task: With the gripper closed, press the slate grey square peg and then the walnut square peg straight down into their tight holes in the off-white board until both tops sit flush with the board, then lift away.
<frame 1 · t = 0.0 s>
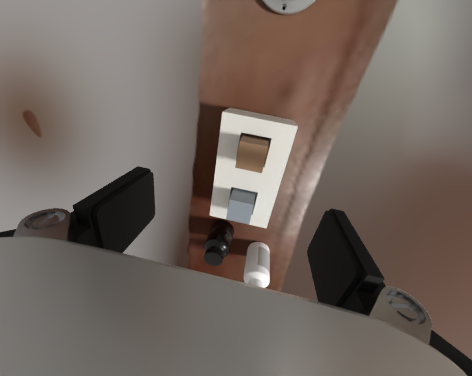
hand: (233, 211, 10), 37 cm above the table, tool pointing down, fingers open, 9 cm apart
peg board: (250, 164, 48), on the table
slate peg: (241, 204, 43), point 9 cm above the table, slide at 4.5 cm
supplement bottle: (223, 228, 59), on the table
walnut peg: (252, 152, 37), point 9 cm above the table, slide at 4.5 cm
spray bottle: (258, 249, 61), on the table
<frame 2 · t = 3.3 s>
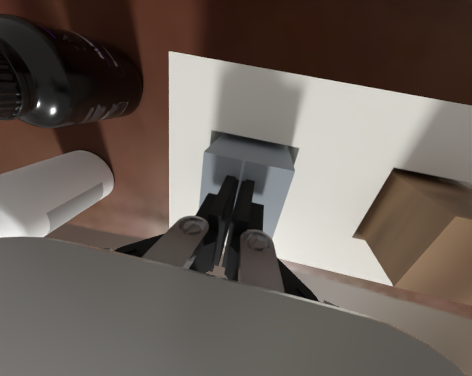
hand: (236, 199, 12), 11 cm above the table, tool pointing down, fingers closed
peg board: (308, 160, 21), on the table
slate peg: (246, 178, 14), point 8 cm above the table, slide at 3.1 cm, touching gripper
supplement bottle: (115, 81, 21), on the table
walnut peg: (426, 226, 12), point 9 cm above the table, slide at 4.5 cm
spray bottle: (93, 173, 27), on the table
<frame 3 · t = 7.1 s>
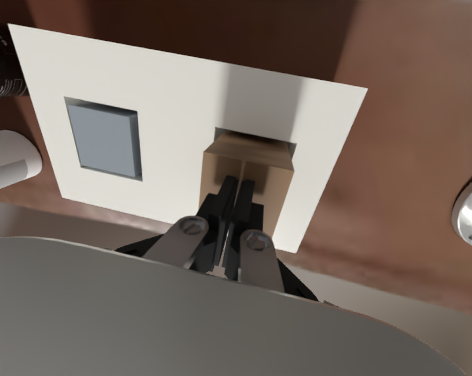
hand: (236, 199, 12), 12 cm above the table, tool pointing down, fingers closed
peg board: (204, 135, 23), on the table
slate peg: (128, 134, 19), point 5 cm above the table, slide at 0.3 cm
supplement bottle: (25, 63, 22), on the table
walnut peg: (246, 178, 14), point 9 cm above the table, slide at 4.3 cm, touching gripper
spray bottle: (23, 152, 28), on the table
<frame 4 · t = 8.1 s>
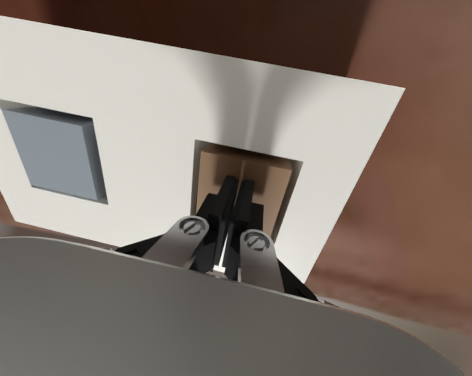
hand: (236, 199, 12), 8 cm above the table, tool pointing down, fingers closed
peg board: (191, 144, 19), on the table
slate peg: (94, 145, 15), point 5 cm above the table, slide at 0.3 cm
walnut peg: (244, 177, 14), point 5 cm above the table, slide at 0.3 cm, touching gripper
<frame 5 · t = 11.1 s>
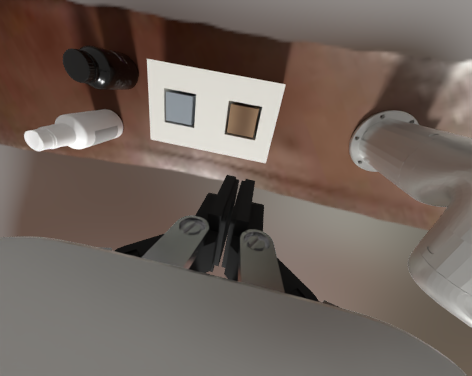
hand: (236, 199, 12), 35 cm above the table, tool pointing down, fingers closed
peg board: (220, 110, 43), on the table
slate peg: (185, 107, 39), point 5 cm above the table, slide at 0.3 cm
supplement bottle: (125, 71, 42), on the table
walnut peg: (244, 118, 38), point 5 cm above the table, slide at 0.3 cm
spray bottle: (111, 123, 48), on the table
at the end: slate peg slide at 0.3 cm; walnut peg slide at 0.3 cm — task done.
